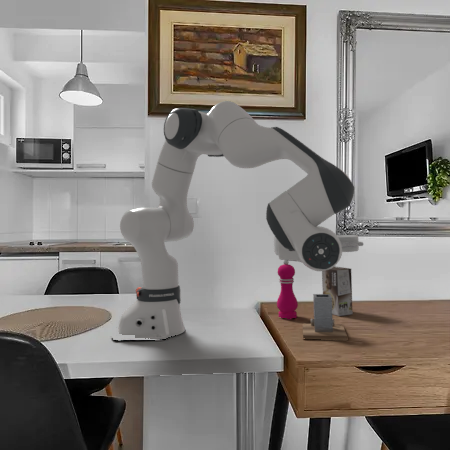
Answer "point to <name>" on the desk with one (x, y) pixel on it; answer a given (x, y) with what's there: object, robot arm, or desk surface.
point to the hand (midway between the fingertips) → (314, 241)
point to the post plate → (335, 335)
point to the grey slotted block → (323, 313)
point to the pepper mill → (287, 292)
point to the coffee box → (338, 289)
